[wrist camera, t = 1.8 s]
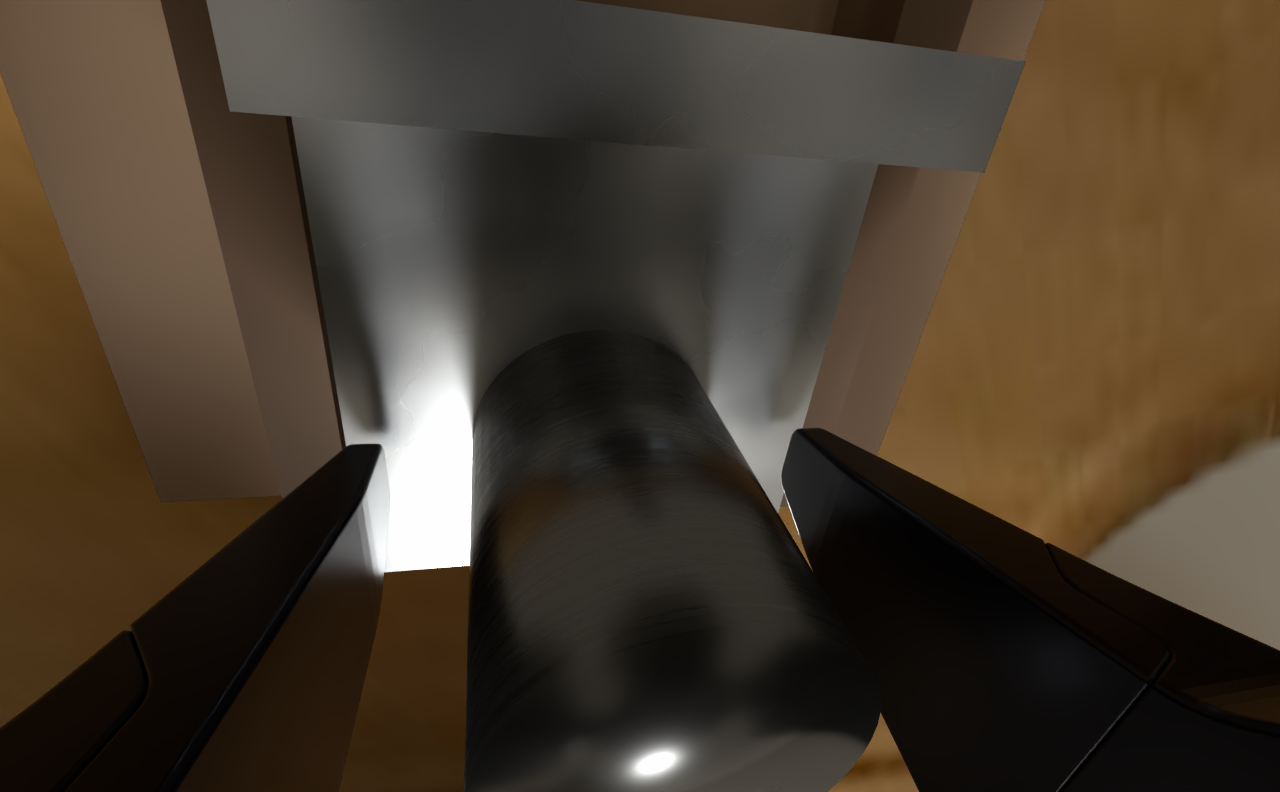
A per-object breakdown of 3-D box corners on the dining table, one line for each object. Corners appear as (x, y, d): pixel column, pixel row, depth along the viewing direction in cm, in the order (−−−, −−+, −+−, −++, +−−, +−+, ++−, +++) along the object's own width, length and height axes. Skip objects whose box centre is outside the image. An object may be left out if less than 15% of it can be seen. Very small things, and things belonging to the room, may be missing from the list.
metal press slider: (819, 46, 9) (1455, 96, 3) (727, 463, 13) (935, 838, 7) (323, -19, 8) (-308, -171, 2) (386, 479, 12) (281, 984, 6)
